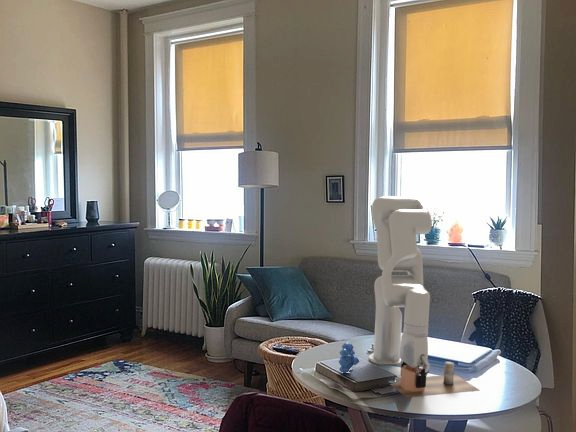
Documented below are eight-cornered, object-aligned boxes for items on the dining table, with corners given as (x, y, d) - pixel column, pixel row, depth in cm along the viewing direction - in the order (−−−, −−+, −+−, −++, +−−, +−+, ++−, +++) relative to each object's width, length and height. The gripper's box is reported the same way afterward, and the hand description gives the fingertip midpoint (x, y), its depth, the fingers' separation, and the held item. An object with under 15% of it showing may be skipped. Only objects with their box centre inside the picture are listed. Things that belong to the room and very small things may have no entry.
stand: (385, 384, 191) (386, 360, 190) (454, 378, 198) (456, 354, 198) (406, 402, 177) (407, 375, 177) (479, 394, 185) (481, 369, 184)
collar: (397, 383, 188) (398, 365, 187) (416, 382, 190) (417, 364, 189) (408, 392, 181) (409, 373, 181) (428, 390, 183) (429, 371, 183)
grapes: (354, 384, 190) (355, 348, 189) (334, 381, 192) (335, 345, 191) (362, 372, 201) (364, 338, 200) (343, 369, 203) (345, 336, 202)
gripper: (392, 321, 191) (389, 372, 193) (419, 337, 174) (415, 393, 176) (412, 320, 193) (409, 371, 195) (441, 336, 177) (437, 391, 178)
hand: (412, 381), depth 185 cm, fingers open, 9 cm apart
